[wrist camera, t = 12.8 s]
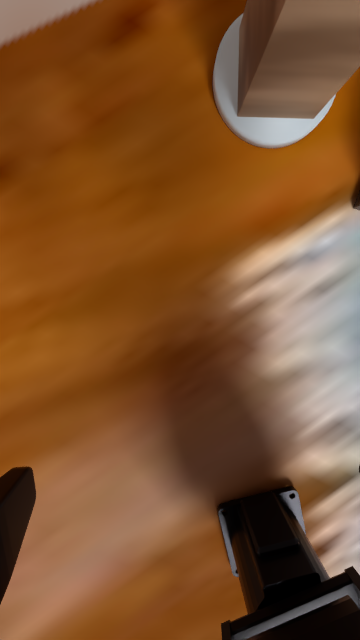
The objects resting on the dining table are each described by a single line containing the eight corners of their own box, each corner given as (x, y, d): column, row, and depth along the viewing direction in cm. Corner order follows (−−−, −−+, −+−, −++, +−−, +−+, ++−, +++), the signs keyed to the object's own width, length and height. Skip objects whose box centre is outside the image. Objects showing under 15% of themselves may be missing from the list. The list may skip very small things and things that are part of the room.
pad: (339, 134, 18) (347, 127, 17) (226, 160, 18) (228, 154, 17) (321, 2, 17) (329, -12, 16) (200, 28, 17) (202, 16, 16)
